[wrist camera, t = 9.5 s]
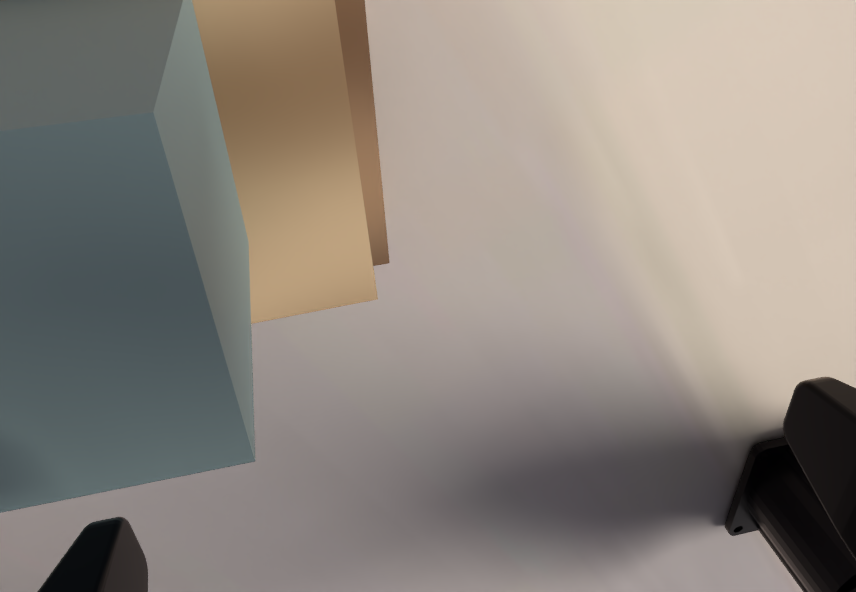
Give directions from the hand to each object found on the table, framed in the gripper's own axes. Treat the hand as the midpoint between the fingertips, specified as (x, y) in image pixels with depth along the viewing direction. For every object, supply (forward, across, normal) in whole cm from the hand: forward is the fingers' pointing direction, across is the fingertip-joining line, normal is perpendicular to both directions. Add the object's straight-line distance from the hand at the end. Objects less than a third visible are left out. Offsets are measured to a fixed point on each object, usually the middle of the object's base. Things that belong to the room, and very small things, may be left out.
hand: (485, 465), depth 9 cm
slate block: (+7, +6, -2) cm, 9 cm away
